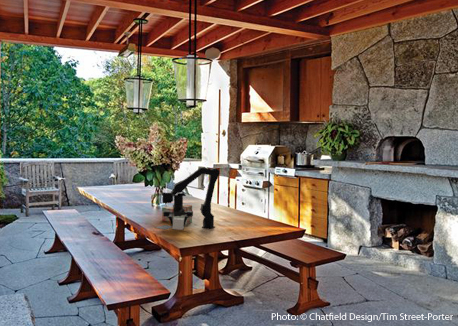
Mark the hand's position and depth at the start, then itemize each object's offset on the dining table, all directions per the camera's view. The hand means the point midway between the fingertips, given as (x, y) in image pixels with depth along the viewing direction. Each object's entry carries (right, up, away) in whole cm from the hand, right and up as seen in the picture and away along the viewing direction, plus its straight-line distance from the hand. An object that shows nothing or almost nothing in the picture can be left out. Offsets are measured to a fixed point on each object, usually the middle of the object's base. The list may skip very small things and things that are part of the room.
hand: (178, 226), depth 270 cm
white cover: (0, -1, 0) cm, 1 cm away
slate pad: (-9, -1, +2) cm, 9 cm away
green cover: (0, 0, +11) cm, 11 cm away
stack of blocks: (-3, 0, +21) cm, 21 cm away
